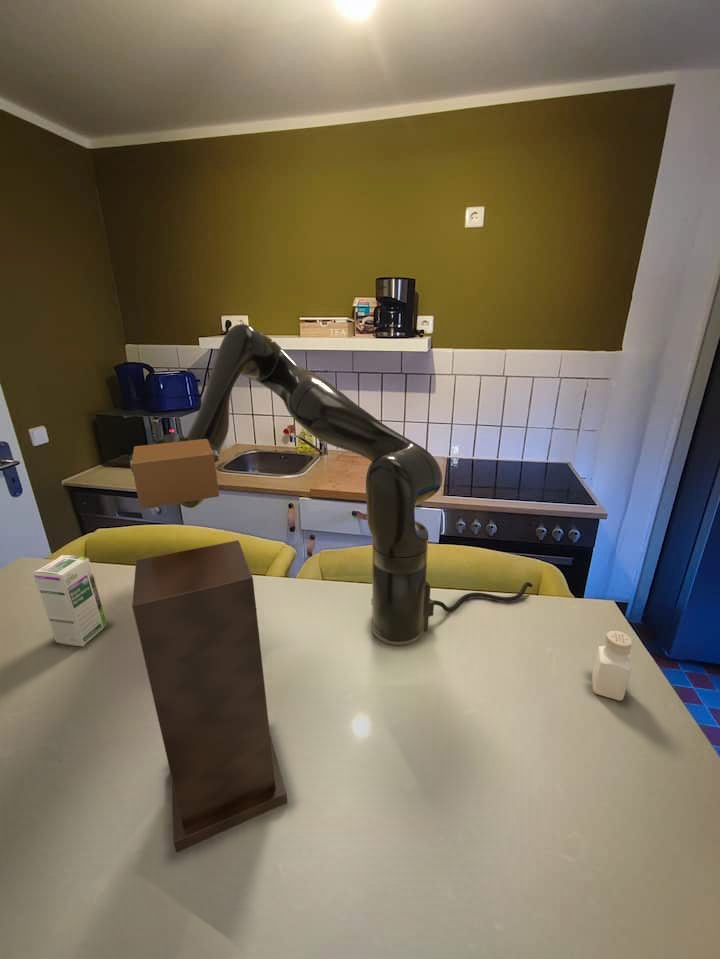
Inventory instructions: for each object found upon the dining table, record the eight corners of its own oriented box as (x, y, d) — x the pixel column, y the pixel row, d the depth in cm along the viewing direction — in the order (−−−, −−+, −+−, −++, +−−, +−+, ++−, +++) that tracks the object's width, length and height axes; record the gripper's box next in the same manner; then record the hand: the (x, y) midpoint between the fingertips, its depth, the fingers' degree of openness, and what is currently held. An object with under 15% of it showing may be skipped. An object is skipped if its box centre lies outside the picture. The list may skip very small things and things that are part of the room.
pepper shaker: (620, 683, 65) (634, 633, 62) (623, 703, 62) (637, 651, 58) (591, 675, 67) (602, 625, 63) (592, 694, 63) (604, 642, 60)
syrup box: (83, 647, 73) (62, 574, 68) (54, 643, 74) (31, 571, 69) (108, 626, 78) (90, 556, 73) (80, 621, 79) (61, 553, 74)
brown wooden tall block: (268, 731, 58) (246, 534, 47) (287, 802, 49) (266, 580, 39) (172, 767, 53) (125, 557, 43) (175, 852, 45) (117, 616, 34)
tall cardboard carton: (200, 443, 68) (196, 412, 67) (219, 496, 48) (213, 453, 46) (145, 449, 65) (139, 417, 64) (140, 509, 45) (131, 463, 43)
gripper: (131, 454, 73) (112, 422, 57) (214, 444, 78) (219, 413, 63) (137, 496, 72) (120, 476, 56) (221, 484, 78) (228, 462, 62)
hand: (172, 443), depth 60 cm, fingers closed on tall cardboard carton
